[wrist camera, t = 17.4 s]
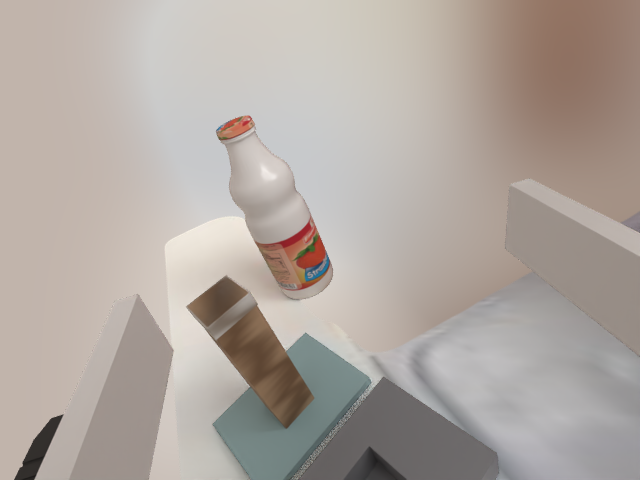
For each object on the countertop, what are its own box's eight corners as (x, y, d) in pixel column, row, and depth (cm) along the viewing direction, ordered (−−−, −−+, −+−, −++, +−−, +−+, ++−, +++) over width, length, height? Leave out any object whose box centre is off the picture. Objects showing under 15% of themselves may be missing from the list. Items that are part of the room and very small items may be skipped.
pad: (307, 337, 51) (305, 332, 51) (371, 382, 43) (369, 377, 42) (216, 428, 45) (212, 424, 44) (269, 503, 36) (265, 499, 35)
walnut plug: (292, 376, 46) (226, 275, 36) (315, 397, 42) (250, 292, 32) (264, 405, 44) (185, 306, 34) (286, 430, 40) (206, 328, 30)
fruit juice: (288, 265, 66) (215, 119, 51) (337, 257, 63) (275, 100, 48) (276, 304, 59) (186, 148, 43) (330, 297, 56) (255, 127, 40)
